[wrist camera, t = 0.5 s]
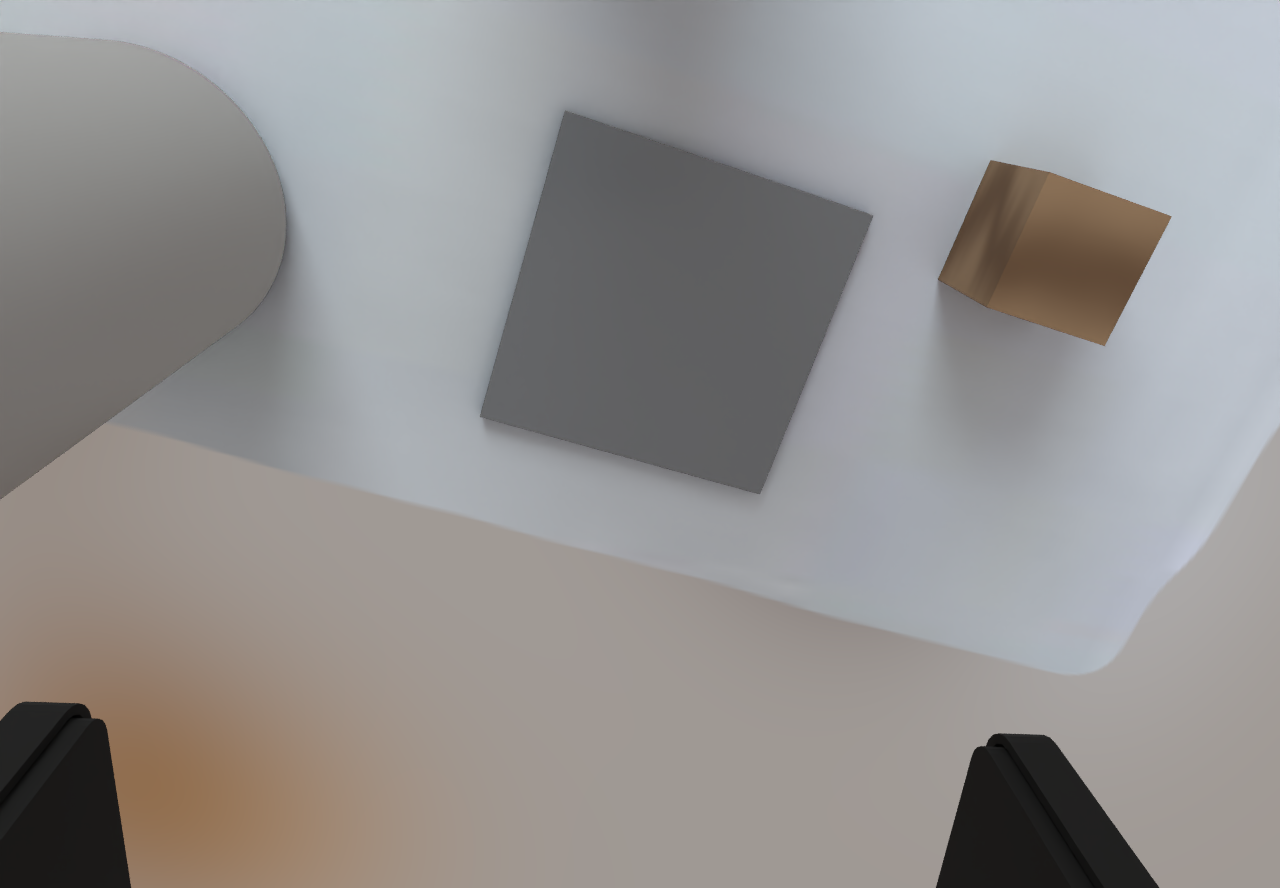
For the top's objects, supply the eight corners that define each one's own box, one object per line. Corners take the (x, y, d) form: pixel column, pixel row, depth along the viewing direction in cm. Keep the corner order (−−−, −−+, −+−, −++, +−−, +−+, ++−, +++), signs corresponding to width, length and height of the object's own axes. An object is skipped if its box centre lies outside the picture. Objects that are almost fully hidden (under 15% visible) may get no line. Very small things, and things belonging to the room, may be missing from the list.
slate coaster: (565, 110, 38) (564, 110, 38) (869, 213, 41) (873, 215, 40) (481, 412, 43) (479, 416, 42) (757, 489, 45) (759, 494, 45)
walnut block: (989, 159, 40) (1049, 172, 35) (1098, 198, 41) (1171, 216, 36) (937, 279, 42) (986, 307, 37) (1042, 313, 43) (1104, 346, 38)
